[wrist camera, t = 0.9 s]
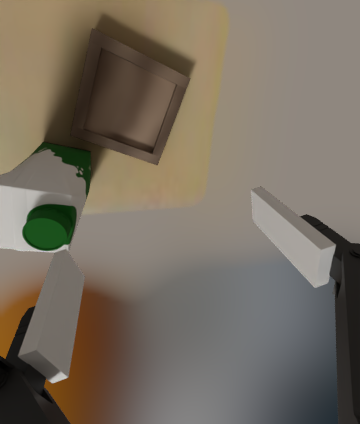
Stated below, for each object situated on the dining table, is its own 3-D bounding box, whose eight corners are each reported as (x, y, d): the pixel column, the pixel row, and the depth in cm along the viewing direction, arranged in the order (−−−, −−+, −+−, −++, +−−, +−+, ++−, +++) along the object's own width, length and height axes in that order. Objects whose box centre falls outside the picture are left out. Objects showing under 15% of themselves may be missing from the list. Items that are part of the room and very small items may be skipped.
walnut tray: (73, 132, 36) (70, 135, 34) (94, 31, 31) (92, 28, 29) (156, 160, 41) (157, 165, 39) (186, 78, 36) (190, 78, 34)
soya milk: (92, 194, 42) (69, 270, 25) (36, 185, 39) (-32, 265, 22) (96, 146, 38) (73, 199, 21) (35, 134, 36) (-48, 182, 19)
